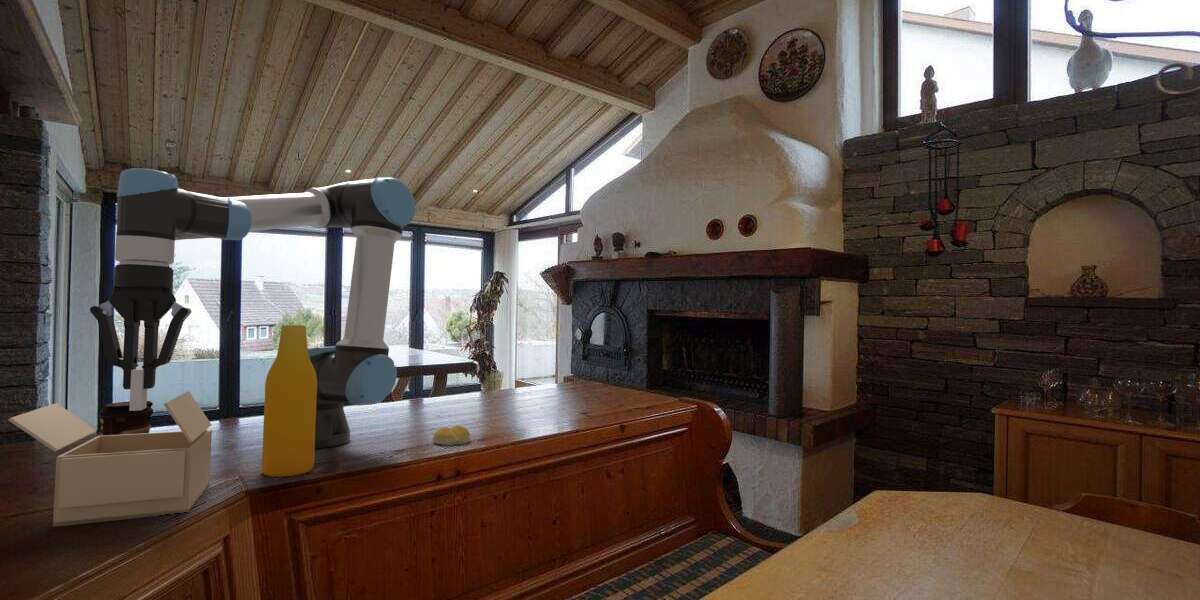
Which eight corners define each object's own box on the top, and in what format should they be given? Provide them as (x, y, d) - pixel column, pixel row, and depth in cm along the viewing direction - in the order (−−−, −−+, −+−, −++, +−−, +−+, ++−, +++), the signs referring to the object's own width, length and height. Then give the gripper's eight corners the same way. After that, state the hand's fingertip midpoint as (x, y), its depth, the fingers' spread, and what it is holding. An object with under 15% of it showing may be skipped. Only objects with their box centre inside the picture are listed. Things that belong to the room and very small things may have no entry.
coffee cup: (163, 464, 112) (166, 400, 113) (124, 476, 104) (128, 406, 104) (124, 462, 113) (128, 399, 114) (83, 474, 105) (86, 405, 105)
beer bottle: (317, 463, 116) (322, 325, 117) (310, 475, 107) (316, 326, 108) (267, 466, 113) (272, 324, 114) (255, 479, 104) (262, 325, 105)
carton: (210, 484, 100) (212, 428, 101) (187, 514, 86) (190, 449, 86) (96, 494, 94) (99, 434, 94) (50, 528, 79) (54, 458, 79)
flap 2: (209, 426, 100) (211, 424, 100) (189, 442, 87) (192, 441, 87) (186, 392, 98) (188, 390, 98) (163, 404, 86) (166, 402, 86)
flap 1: (56, 402, 91) (54, 404, 91) (10, 417, 78) (7, 420, 78) (96, 430, 93) (94, 432, 93) (57, 449, 80) (55, 451, 80)
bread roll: (429, 441, 139) (429, 425, 140) (464, 437, 144) (465, 422, 144) (437, 448, 132) (437, 431, 132) (474, 444, 137) (474, 428, 137)
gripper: (198, 268, 97) (192, 403, 96) (102, 264, 91) (95, 407, 90) (187, 265, 90) (180, 410, 89) (83, 260, 84) (75, 415, 84)
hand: (138, 409), depth 90 cm, fingers closed
